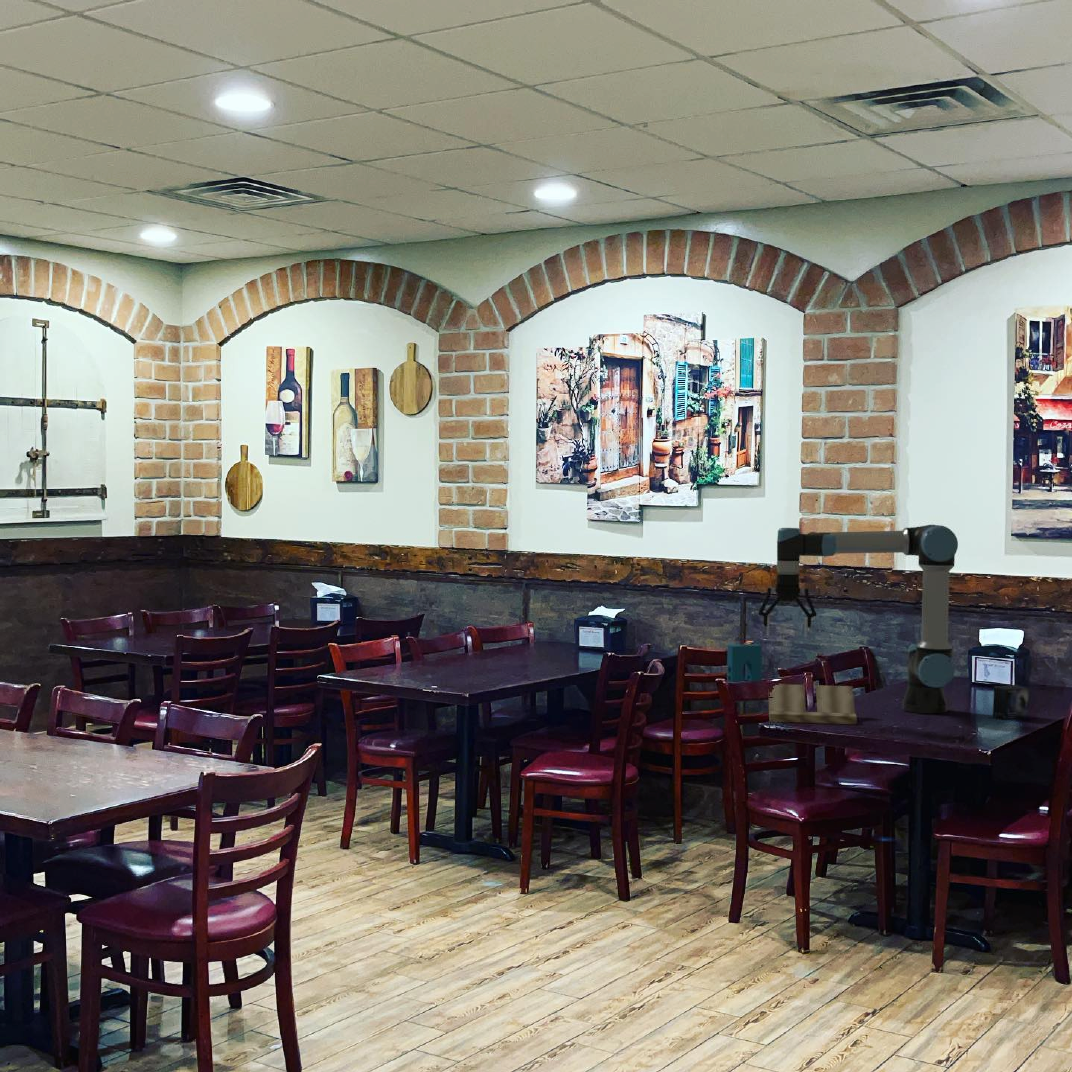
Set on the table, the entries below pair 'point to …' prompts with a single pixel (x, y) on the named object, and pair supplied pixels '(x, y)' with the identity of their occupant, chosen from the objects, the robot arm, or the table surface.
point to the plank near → (835, 699)
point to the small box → (1010, 702)
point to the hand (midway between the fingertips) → (787, 636)
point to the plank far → (787, 698)
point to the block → (741, 656)
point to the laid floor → (812, 717)
